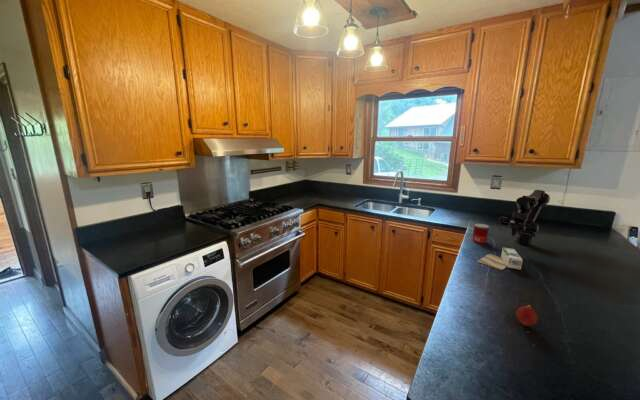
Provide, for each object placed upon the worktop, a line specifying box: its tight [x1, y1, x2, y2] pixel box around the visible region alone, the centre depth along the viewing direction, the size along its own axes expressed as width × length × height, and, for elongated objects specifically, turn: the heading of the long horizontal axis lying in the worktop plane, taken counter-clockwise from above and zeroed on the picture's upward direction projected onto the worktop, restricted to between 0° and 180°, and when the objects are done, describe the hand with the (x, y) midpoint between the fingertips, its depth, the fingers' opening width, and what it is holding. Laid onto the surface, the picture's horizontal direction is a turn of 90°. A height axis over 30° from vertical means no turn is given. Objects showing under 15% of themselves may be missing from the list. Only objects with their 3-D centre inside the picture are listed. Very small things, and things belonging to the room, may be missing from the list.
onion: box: [515, 304, 538, 327], centre depth 91 cm, size 6×6×8 cm
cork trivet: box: [476, 253, 508, 271], centre depth 140 cm, size 16×12×1 cm
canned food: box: [472, 223, 490, 244], centre depth 168 cm, size 8×8×11 cm
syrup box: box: [500, 247, 523, 270], centre depth 138 cm, size 6×6×14 cm
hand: (512, 236), depth 150 cm, fingers closed
